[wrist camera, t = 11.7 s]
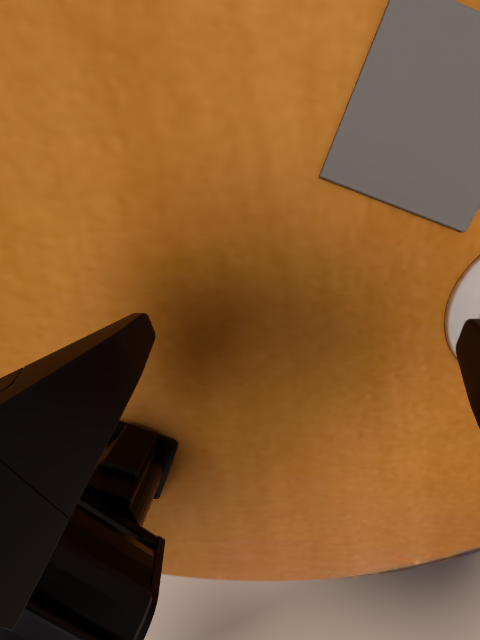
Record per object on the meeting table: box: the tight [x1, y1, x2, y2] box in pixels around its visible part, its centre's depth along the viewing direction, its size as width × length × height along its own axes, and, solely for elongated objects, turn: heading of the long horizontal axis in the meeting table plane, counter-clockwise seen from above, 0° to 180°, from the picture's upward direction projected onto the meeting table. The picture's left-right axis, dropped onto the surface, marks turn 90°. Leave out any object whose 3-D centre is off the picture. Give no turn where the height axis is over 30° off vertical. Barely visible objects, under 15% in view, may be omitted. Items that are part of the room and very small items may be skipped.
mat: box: [319, 0, 480, 232], centre depth 17 cm, size 10×10×1 cm
